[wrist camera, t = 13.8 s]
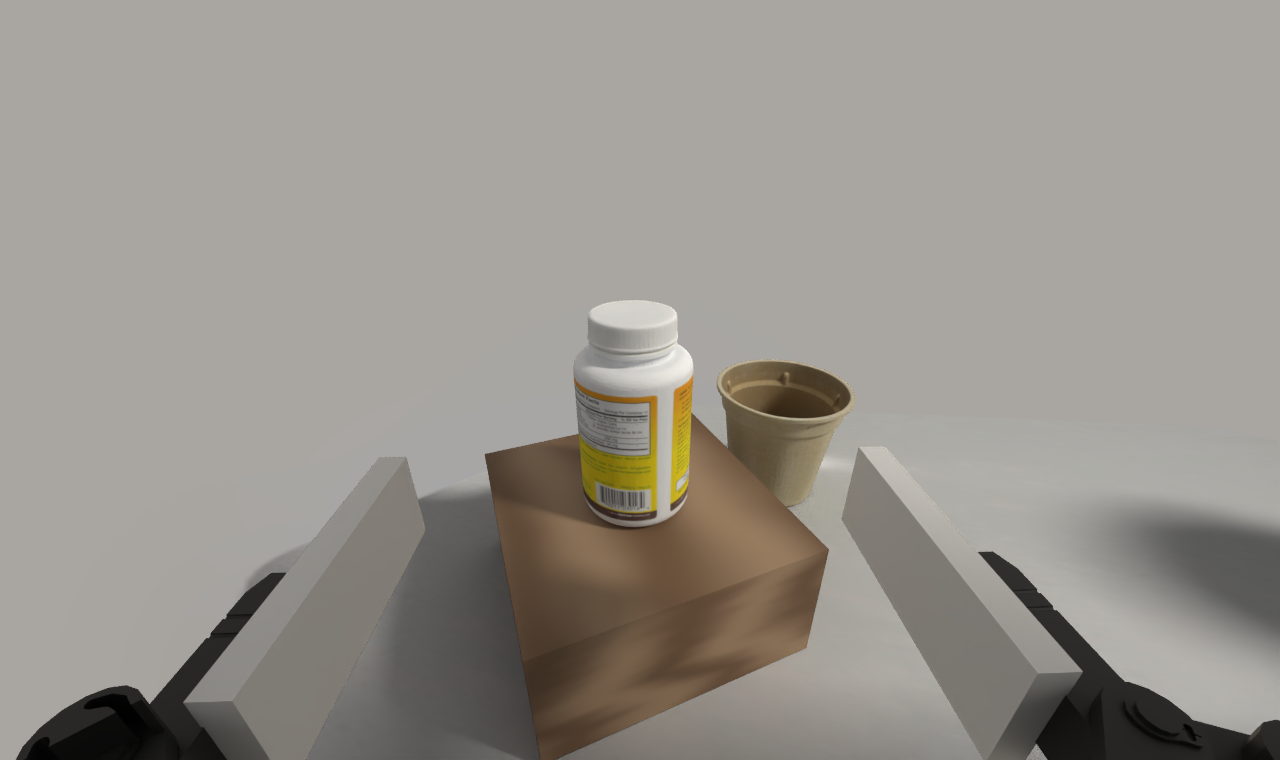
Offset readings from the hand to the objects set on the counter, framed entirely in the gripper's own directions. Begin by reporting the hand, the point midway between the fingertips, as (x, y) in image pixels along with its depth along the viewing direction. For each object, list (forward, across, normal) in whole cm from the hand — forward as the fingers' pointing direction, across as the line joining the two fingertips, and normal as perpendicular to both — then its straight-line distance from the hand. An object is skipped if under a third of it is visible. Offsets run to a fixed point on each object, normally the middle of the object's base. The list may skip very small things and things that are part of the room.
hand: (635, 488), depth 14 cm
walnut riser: (+9, 0, -15) cm, 17 cm away
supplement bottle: (+9, 0, -8) cm, 12 cm away
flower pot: (+18, +11, -15) cm, 26 cm away
